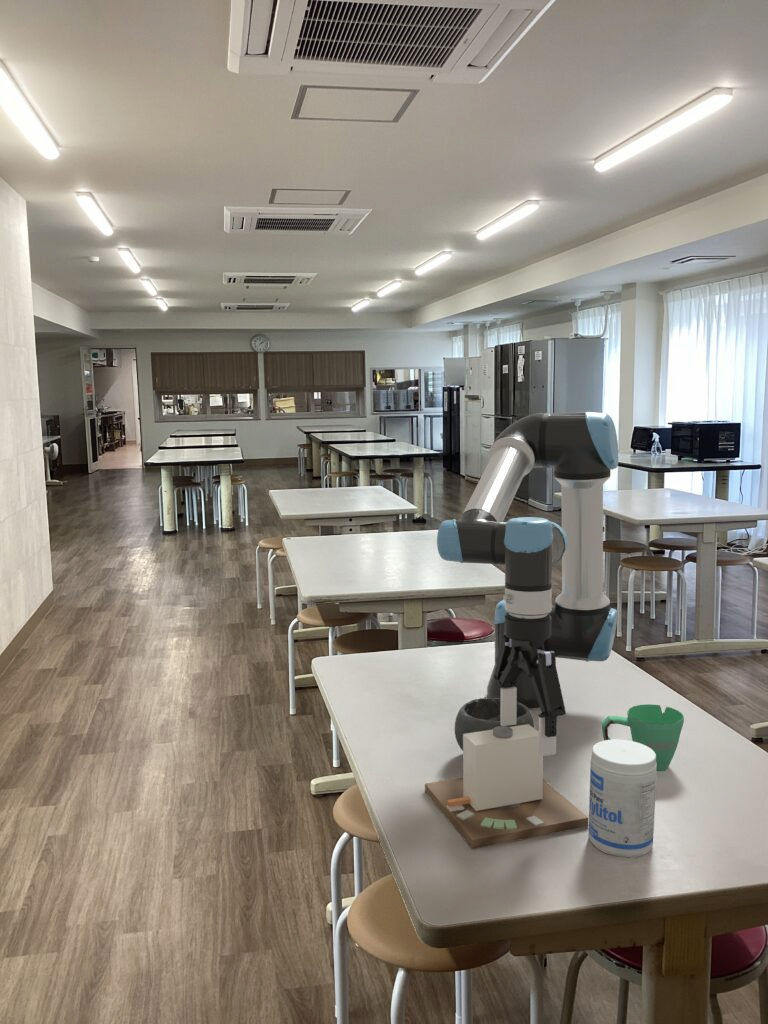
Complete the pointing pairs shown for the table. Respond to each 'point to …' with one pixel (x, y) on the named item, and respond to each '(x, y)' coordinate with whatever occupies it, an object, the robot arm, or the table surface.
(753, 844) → the table surface
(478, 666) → the table surface
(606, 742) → the supplement tub
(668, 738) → the mug
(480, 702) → the bowl
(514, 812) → the board
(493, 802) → the white block with knob
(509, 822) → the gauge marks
